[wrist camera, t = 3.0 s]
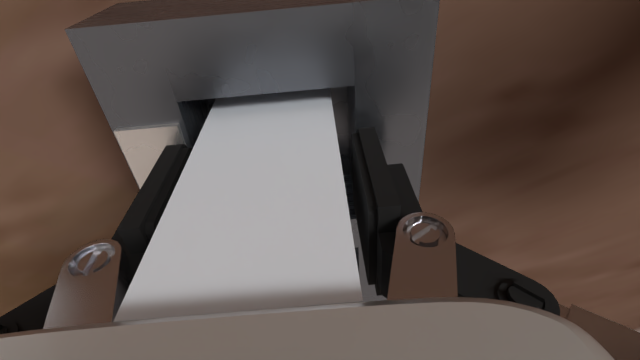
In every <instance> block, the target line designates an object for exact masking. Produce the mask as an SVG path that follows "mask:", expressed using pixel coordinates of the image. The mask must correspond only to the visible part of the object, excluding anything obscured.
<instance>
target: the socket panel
mask: <svg viewBox="0 0 640 360" xmlns="http://www.w3.org/2000/svg"><path fill="white" fill-rule="evenodd" d="M439 1H440V0H150V1H139V2H129V3H118V4H115V5H113V6H111V7H109V8H107V9H105V10H103V11H101V12H99V13H97V14H95V15H93V16H91V17H89V18H87V19H85V20H83V21H81V22H79V23H77V24H75V25H73V26H70V27H68V28H66V29H65V31H66V33H67V35H68V37H69V40H70V42H71V44H72V46H73V48H74V50H75V52H76V55H77V57H78V59H79V61H80V63H81V65H82V67H83V70H84V72H85V74H86V76H87V78H88V80H89V82H90V84H91V87H92V89H93V91H94V93H95V95H96V97H97V99H98V102H99V104H100V106H101V108H102V110H103V112H104V114H105V116H106V119H107V121H108V123H109V125H110V127H111V129H112V131H113V134H114V136H115V138H116V140H117V142H118V144H119V146H120V149H121V151H122V153H123V155H124V157H125V159H126V161H127V163H128V166H129V168H130V170H131V172H132V174H133V176H134V178H135V181H136V183H137V185H138V187H139V189H141V187H142V186H143V184H144V182H145V180H146V179H147V177H148V175H149V174H150V172H151V170H152V168H153V167H154V165H155V163H156V162H157V160H158V158H159V156H160V155H161V153H162V151H163V150H164V148H165V146H166V145H176V144H185V145H186V146H187V148H192V149H193V147H194V145H195V143H196V141H197V139H198V136H199V134H200V132H201V130H202V128H203V126H204V123H205V121H206V119H207V117H208V115H209V113H210V110H211V108H212V106H213V104H214V102H215V100H216V98H225V97H236V96H247V95H258V94H269V93H280V92H291V91H302V90H313V89H324V88H330V94H331V100H332V106H333V113H334V119H335V126H336V132H337V138H338V145H339V151H340V157H341V164H342V170H343V177H344V183H345V189H346V196H347V202H348V209H349V215H350V221H351V228H352V234H353V240H354V247H355V253H356V260H357V266H358V272H359V279H360V285H361V291H362V298H363V302H368V301H383V300H387V298H385V297H384V296H382V295H380V296H377V294H376V289H375V285H368V282H367V277H366V271H365V265H364V260H363V254H362V248H361V243H360V237H359V231H358V226H357V220H356V214H355V209H354V201H353V174H352V142H351V134H352V133H357V129H358V128H367V127H375V130H376V132H377V135H378V138H379V141H380V144H381V147H382V150H383V153H384V156H385V159H386V162H387V165H388V164H399V163H402V164H403V165H404V168H405V170H406V172H407V175H408V177H409V180H410V182H411V185H412V187H413V190H414V192H415V195H416V197H417V200H418V201H419V192H420V182H421V173H422V163H423V154H424V144H425V135H426V125H427V116H428V106H429V96H430V87H431V77H432V68H433V58H434V49H435V39H436V30H437V20H438V11H439Z"/></svg>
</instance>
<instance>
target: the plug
mask: <svg viewBox="0 0 640 360" xmlns="http://www.w3.org/2000/svg"><path fill="white" fill-rule="evenodd" d="M355 302H363V298H362V291H361V285H360V279H359V272H358V266H357V260H356V253H355V247H354V240H353V234H352V228H351V221H350V215H349V209H348V202H347V196H346V189H345V183H344V177H343V170H342V164H341V157H340V151H339V145H338V138H337V132H336V126H335V119H334V113H333V106H332V100H331V94H330V88H324V89H313V90H302V91H291V92H280V93H269V94H258V95H247V96H236V97H225V98H216V100H215V102H214V104H213V106H212V108H211V110H210V113H209V115H208V117H207V119H206V121H205V123H204V126H203V128H202V130H201V132H200V134H199V136H198V139H197V141H196V143H195V145H194V147H193V149H192V152H191V154H190V156H189V158H188V160H187V163H186V165H185V167H184V169H183V171H182V173H181V176H180V178H179V180H178V182H177V184H176V186H175V189H174V191H173V193H172V195H171V197H170V199H169V202H168V204H167V206H166V208H165V210H164V212H163V215H162V217H161V219H160V221H159V223H158V225H157V228H156V230H155V232H154V234H153V236H152V238H151V241H150V243H149V245H148V247H147V249H146V251H145V254H144V256H143V258H142V260H141V262H140V265H139V267H138V269H137V271H136V273H135V275H134V278H133V280H132V282H131V284H130V286H129V288H128V291H127V293H126V295H125V297H124V299H123V301H122V304H121V306H120V308H119V310H118V312H117V314H116V317H115V319H114V321H113V322H122V321H133V320H144V319H156V318H167V317H179V316H191V315H203V314H215V313H227V312H240V311H252V310H264V309H277V308H289V307H303V306H316V305H329V304H342V303H355Z"/></svg>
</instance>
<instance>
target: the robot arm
mask: <svg viewBox="0 0 640 360" xmlns="http://www.w3.org/2000/svg"><path fill="white" fill-rule="evenodd" d="M351 142H352V174H353V201H354V209H355V214H356V220H357V226H358V231H359V237H360V243H361V248H362V254H363V260H364V265H365V271H366V277H367V282H368V285H375V289H376V294H377V296H380V295H382V296H384V297H385V298H387V300H383V301H368V302H355V303H342V304H329V305H316V306H303V307H289V308H277V309H264V310H252V311H240V312H227V313H215V314H203V315H191V316H179V317H167V318H156V319H144V320H133V321H122V322H113V321H114V319H115V317H116V314H117V312H118V310H119V308H120V306H121V304H122V301H123V299H124V297H125V295H126V293H127V291H128V288H129V286H130V284H131V282H132V280H133V278H134V275H135V273H136V271H137V269H138V267H139V265H140V262H141V260H142V258H143V256H144V254H145V251H146V249H147V247H148V245H149V243H150V241H151V238H152V236H153V234H154V232H155V230H156V228H157V225H158V223H159V221H160V219H161V217H162V215H163V212H164V210H165V208H166V206H167V204H168V202H169V199H170V197H171V195H172V193H173V191H174V189H175V186H176V184H177V182H178V180H179V178H180V176H181V173H182V171H183V169H184V167H185V165H186V163H187V160H188V158H189V156H190V154H191V152H192V148H187V146H186V145H185V144H176V145H166V146H165V148H164V150H163V151H162V153H161V155H160V156H159V158H158V160H157V162H156V163H155V165H154V167H153V168H152V170H151V172H150V174H149V175H148V177H147V179H146V180H145V182H144V184H143V186H142V187H141V189H140V191H139V192H138V194H137V196H136V198H135V199H134V201H133V203H132V204H131V206H130V208H129V210H128V211H127V213H126V215H125V216H124V218H123V220H122V222H121V223H120V225H119V227H118V228H117V230H116V232H115V234H114V236H113V237H112V239H101V240H96V241H93V242H90V243H88V244H86V245H84V246H82V247H80V248H78V249H77V250H76V251H74V252H73V253H72V254H70V256H69V257H68V258H67V259H66V260H65V261H64V263H63V265H62V267H61V271H60V274H59V277H58V280H57V284H56V285H54V286H52V287H51V288H49V289H47V290H45V291H44V292H42V293H40V294H39V295H37V296H35V297H34V298H32V299H30V300H29V301H27V302H25V303H23V304H22V305H20V306H18V307H17V308H15V309H13V310H12V311H10V312H8V313H6V314H5V315H3V316H1V317H0V360H640V333H639V332H637V331H635V330H632V329H630V328H627V327H625V326H623V325H620V324H618V323H616V322H613V321H611V320H608V319H606V318H604V317H601V316H599V315H597V314H594V313H592V312H589V311H587V310H585V309H582V308H580V307H578V306H575V305H573V304H572V305H571V306H570V308H567V307H565V306H563V305H560V304H558V302H557V300H556V299H555V297H554V295H553V294H552V293H551V292H550V291H549V290H548V289H547V288H545V287H544V286H543V285H541V284H539V283H538V282H536V281H534V280H532V279H530V278H528V277H526V276H524V275H522V274H520V273H518V272H515V271H513V270H511V269H509V268H507V267H505V266H503V265H501V264H499V263H497V262H495V261H493V260H491V259H488V258H486V257H484V256H482V255H480V254H478V253H476V252H474V251H472V250H470V249H468V248H466V247H463V246H461V245H459V244H457V243H455V232H454V229H453V227H452V226H451V224H450V223H449V222H448V221H447V220H445V219H444V218H443V217H440V216H438V215H436V214H432V213H427V212H422V210H421V207H420V205H419V202H418V200H417V197H416V195H415V192H414V190H413V187H412V185H411V182H410V180H409V177H408V175H407V172H406V170H405V168H404V165H403V164H402V163H399V164H388V165H387V162H386V159H385V156H384V153H383V150H382V147H381V144H380V141H379V138H378V135H377V132H376V130H375V127H367V128H358V129H357V133H352V134H351Z"/></svg>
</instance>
